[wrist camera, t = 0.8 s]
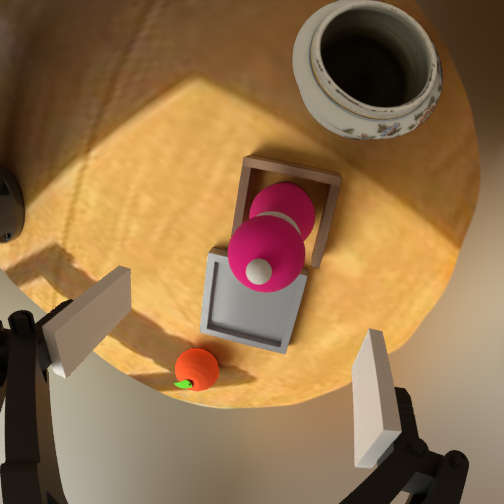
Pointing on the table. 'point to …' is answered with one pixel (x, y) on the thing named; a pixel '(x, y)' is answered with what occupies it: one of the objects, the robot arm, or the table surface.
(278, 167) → the cubby
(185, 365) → the clementine
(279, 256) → the pepper mill
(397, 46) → the apothecary jar
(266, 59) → the table surface
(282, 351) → the tray
